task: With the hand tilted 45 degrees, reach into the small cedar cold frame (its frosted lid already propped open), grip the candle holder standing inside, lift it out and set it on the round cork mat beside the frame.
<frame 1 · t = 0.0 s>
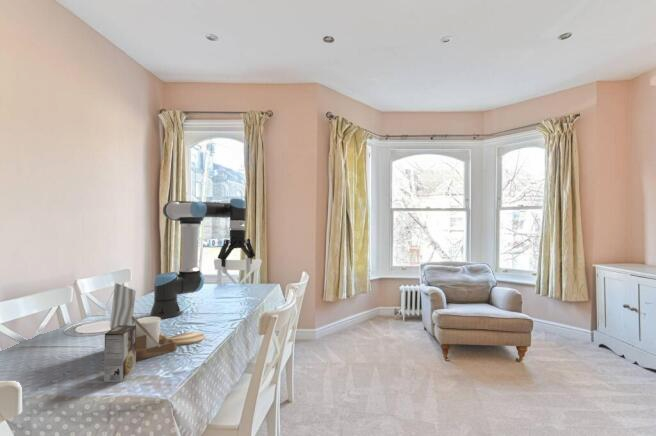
hand: (236, 272, 173), 28 cm above the table, tool pointing down, fingers open, 13 cm apart
plate: (99, 328, 172), on the table
candle holder: (147, 349, 144), resting in cold frame
coffee box: (120, 376, 119), on the table
cold frame: (143, 349, 143), on the table
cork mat: (186, 339, 156), on the table
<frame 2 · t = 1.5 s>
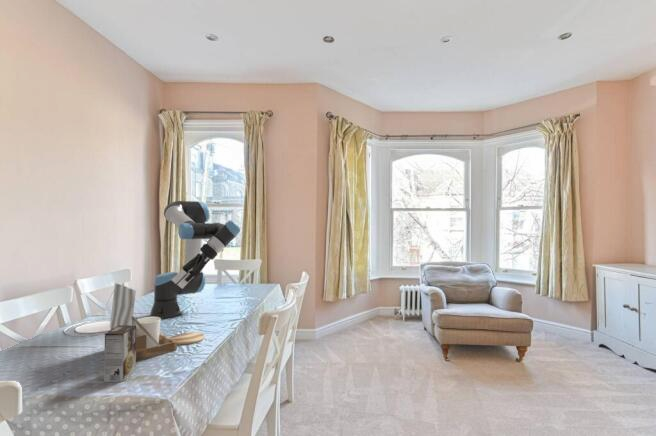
hand: (176, 284, 150), 26 cm above the table, tool tilted 45°, fingers open, 13 cm apart
nothing on the table moved.
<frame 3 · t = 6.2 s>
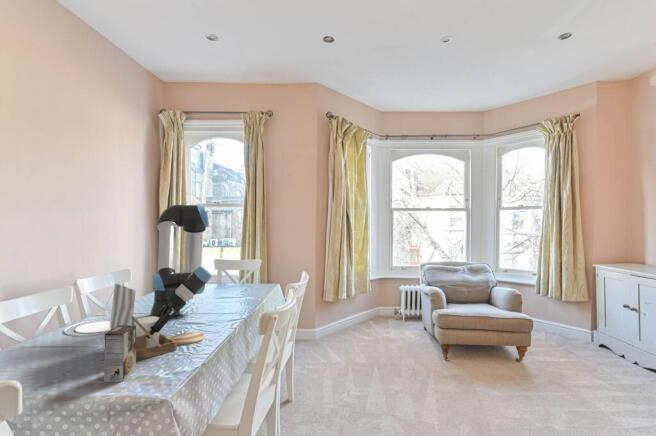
hand: (138, 340, 142), 4 cm above the table, tool tilted 45°, fingers closed on candle holder, 9 cm apart
candle holder: (147, 349, 144), resting in cold frame, touching gripper
everything else where it was.
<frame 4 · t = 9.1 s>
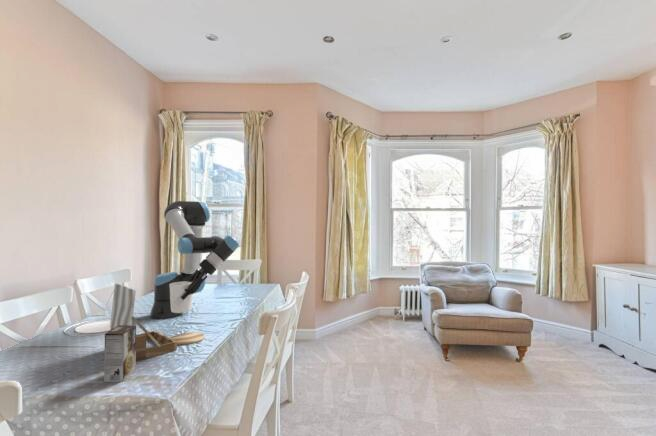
hand: (173, 302, 152), 17 cm above the table, tool tilted 45°, fingers closed on candle holder, 9 cm apart
candle holder: (181, 310, 154), point 13 cm above the table, touching gripper
everything else where it was.
when the fingers open (6 cm above the table, at t = 12.2 s): candle holder drops 1 cm, resting on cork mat.
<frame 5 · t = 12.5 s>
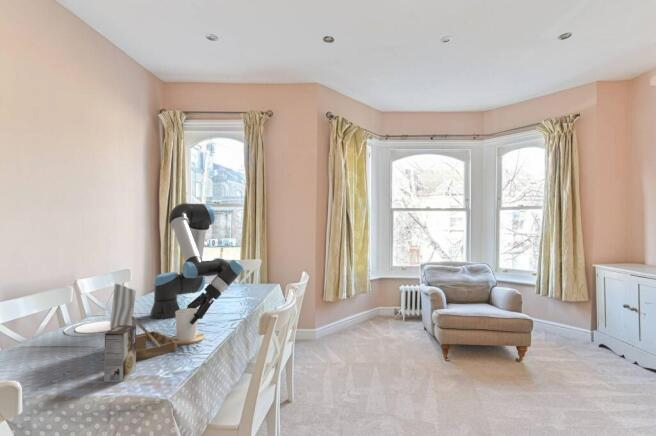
hand: (181, 325, 155), 7 cm above the table, tool tilted 45°, fingers open, 13 cm apart
candle holder: (186, 338, 156), resting on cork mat
everything else where it was.
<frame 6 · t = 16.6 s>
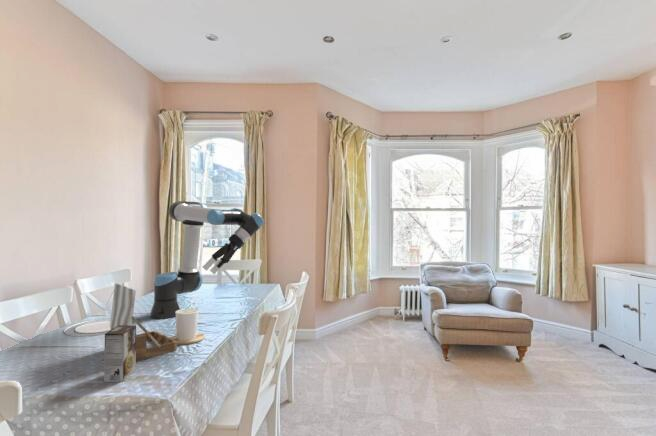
hand: (207, 270, 165), 30 cm above the table, tool tilted 45°, fingers open, 13 cm apart
nothing on the table moved.
at the end: candle holder inside the target area on the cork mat (0.5 cm from its centre), point 0.4 cm above the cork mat's base; candle holder tilted 0°; the gripper is holding nothing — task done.
